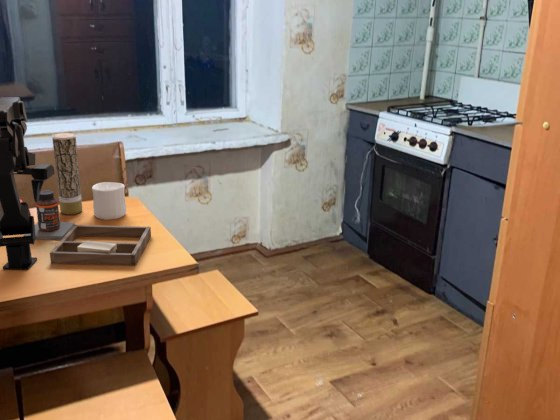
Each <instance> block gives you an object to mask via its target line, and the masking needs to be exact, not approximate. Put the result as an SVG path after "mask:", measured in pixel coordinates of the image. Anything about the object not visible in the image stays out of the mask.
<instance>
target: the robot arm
mask: <svg viewBox="0 0 560 420" xmlns="http://www.w3.org/2000/svg"><path fill="white" fill-rule="evenodd" d="M27 120H28V116H27V112H26V108H25V103H24V101H23V100H22V101H21V98H20V97H19V96H12V97H10V96H9V97H8V96H5V97H3V96H1V97H0V248H2V247H5V251H6V258H7V262H6V263H5V264H4V265H3V266H2V269H3V270H29V269H30V268H31V267H32V266H33V264H35V263H36V261H37V260H38V257H32V250H31V245H35V242H36V239H35V238H36V236H35V224H36V223H35V217H34V215H31V214H32V213H31V210H30V208H29V204H28V203H27V201H23V202H21V199H20V194H19V191H18V187H17V184H16V183H17V182H16V178H15V175H22V176H23V175H25V176H26V175H27V176H29V175H31V177H32V178H33V179H31V188H32V189H31V190H32V194H33V199H34V203H35V204H36V203H37V202H38V200H39V196H40V192H41V191H42V188H43V184H44V183H45V182H46V181H47V180H48V179H50V178H51V177H53V176H54V175H55V174H56V170H55V167H54V166H53V164H51V163H49V164H46V163H39V164H36V153H34V152H29V151H28V146H25V140H24V139H25V138H24V137H25V135H26V132H27V130H28V128H27V127H28V125H27V123H26V121H27ZM30 166H33V167H30ZM24 234H31V236H24ZM18 235H19V236H18ZM20 235H22V236H20ZM7 236H8V237H7Z"/></svg>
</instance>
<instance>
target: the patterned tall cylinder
mask: <svg viewBox="0 0 560 420" xmlns="http://www.w3.org/2000/svg"><path fill="white" fill-rule="evenodd" d="M77 145H78V144H77V136H76V134H75V133H71V132H60V133H55V134H52V146H53V147H52V148H53V155H54V157H53V158H54V165H55V167H54V168H55V174H56V175H55V176H56V184H57V192H58V195H57V196H58V204H59V210H60V211H59V212H60V213H61V214H63V215H75V214H79V213H81V212H82V210H83V203H82V202H83V201H82V189H81V179H80V177H81V176H80V168H79V158H78V148H77V147H78V146H77Z"/></svg>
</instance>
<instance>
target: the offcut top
mask: <svg viewBox="0 0 560 420" xmlns="http://www.w3.org/2000/svg"><path fill="white" fill-rule="evenodd" d="M82 242H83V243H82V244H80V245H79V246H78V247H77V250H78V252H94V253H113V252H114V251H115V250H116V249H117V244H114V243H104V242H105V241H92V240H84V241H82Z"/></svg>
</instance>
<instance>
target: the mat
mask: <svg viewBox="0 0 560 420" xmlns="http://www.w3.org/2000/svg"><path fill="white" fill-rule="evenodd" d="M75 223H76V222H74V221H73V222H72V221H71V222H70V221H69V222H68V221H60V228H59V229H57V230H55V231H51V232H44V231H41V230H39V226H38V221H37V222H36V223H34V224H35V236H36V238H35V240H60V241H61V240H62V239H63V238H64V236H65V235H66V234H67V233H68V232H69V231H70V230H71V229H72V228H73V226H74V225H76V224H75ZM23 236H31V234H23Z"/></svg>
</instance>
